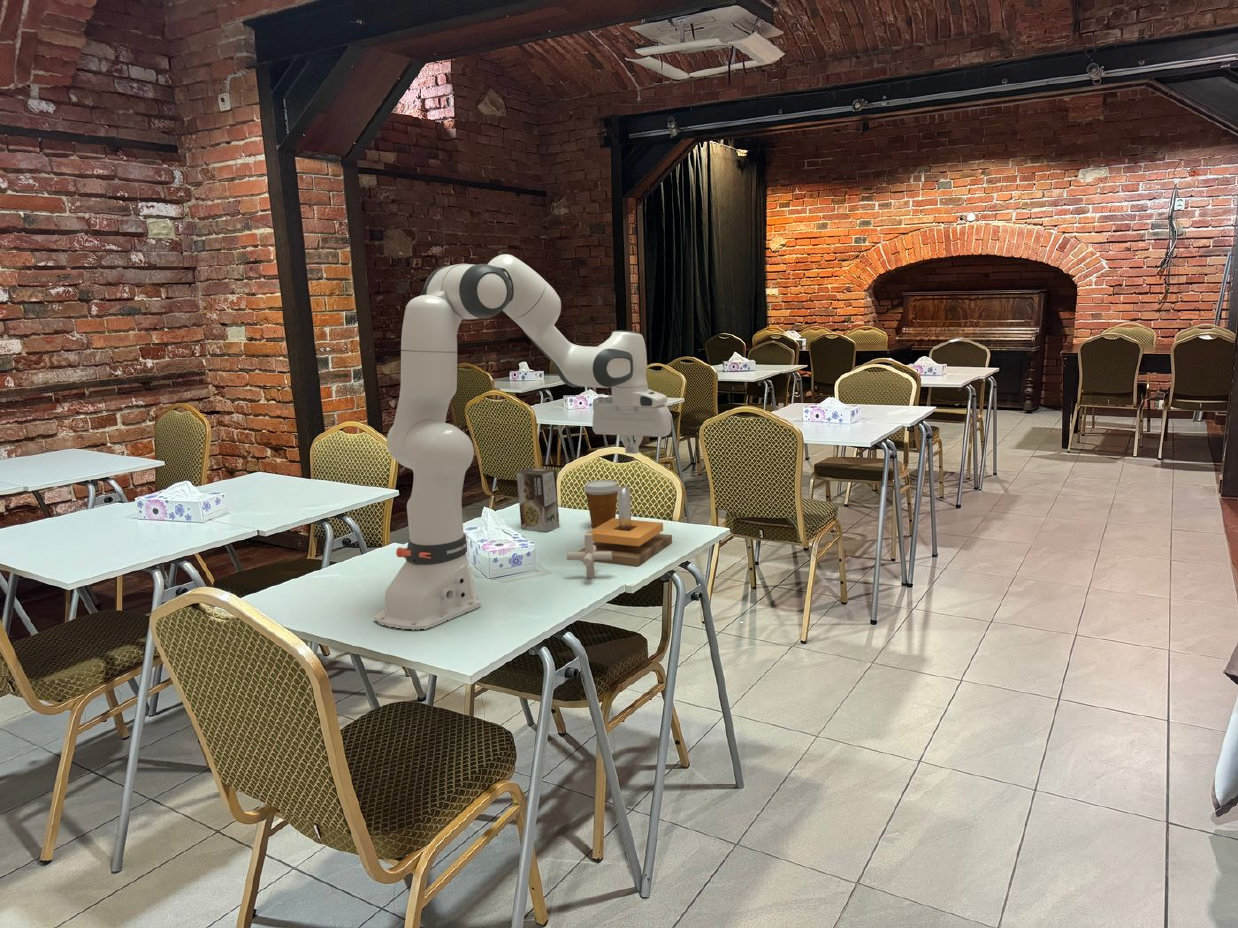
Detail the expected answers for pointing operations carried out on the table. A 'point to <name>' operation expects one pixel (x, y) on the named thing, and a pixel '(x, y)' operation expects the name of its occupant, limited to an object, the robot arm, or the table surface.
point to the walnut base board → (633, 550)
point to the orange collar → (626, 532)
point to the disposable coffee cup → (601, 500)
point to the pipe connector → (589, 555)
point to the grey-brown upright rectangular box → (538, 499)
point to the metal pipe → (624, 509)
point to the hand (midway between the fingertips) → (632, 453)
